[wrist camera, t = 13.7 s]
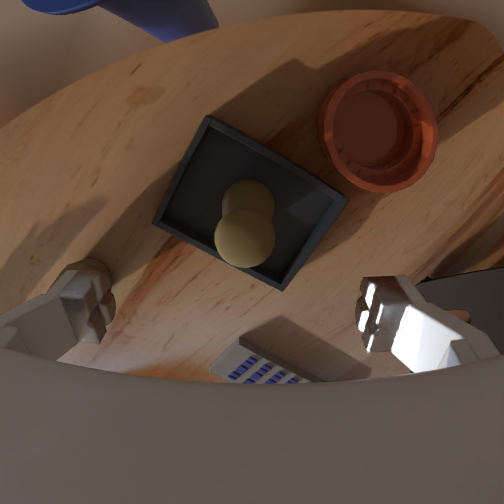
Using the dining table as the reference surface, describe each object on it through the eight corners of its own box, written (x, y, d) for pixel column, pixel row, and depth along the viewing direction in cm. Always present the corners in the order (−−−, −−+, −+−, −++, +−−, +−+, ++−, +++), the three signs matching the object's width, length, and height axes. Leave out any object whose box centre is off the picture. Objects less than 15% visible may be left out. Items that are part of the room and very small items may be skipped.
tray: (157, 215, 37) (151, 223, 34) (209, 114, 31) (205, 114, 29) (281, 280, 40) (282, 292, 38) (343, 193, 35) (349, 200, 32)
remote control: (239, 335, 45) (238, 345, 43) (342, 389, 50) (344, 398, 48) (210, 363, 48) (209, 373, 46) (311, 410, 53) (312, 419, 51)
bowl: (294, 142, 32) (299, 147, 28) (352, 53, 27) (366, 45, 23) (380, 200, 35) (396, 215, 30) (434, 119, 30) (456, 123, 26)
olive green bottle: (285, 195, 34) (295, 233, 25) (258, 238, 37) (258, 289, 27) (237, 169, 33) (227, 197, 23) (212, 215, 36) (195, 259, 26)
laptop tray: (402, 251, 44) (398, 290, 38) (534, 233, 31) (552, 270, 24) (416, 347, 53) (411, 385, 47) (520, 336, 40) (525, 375, 34)
